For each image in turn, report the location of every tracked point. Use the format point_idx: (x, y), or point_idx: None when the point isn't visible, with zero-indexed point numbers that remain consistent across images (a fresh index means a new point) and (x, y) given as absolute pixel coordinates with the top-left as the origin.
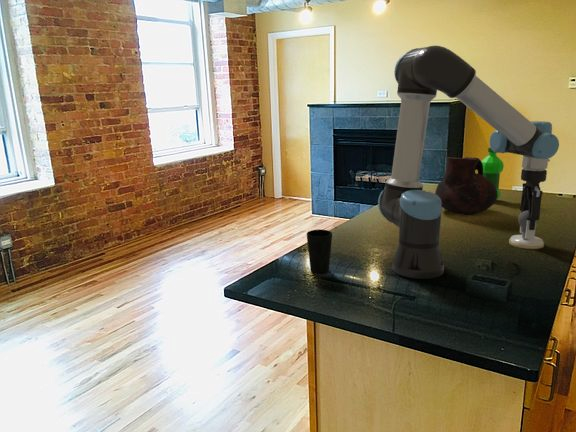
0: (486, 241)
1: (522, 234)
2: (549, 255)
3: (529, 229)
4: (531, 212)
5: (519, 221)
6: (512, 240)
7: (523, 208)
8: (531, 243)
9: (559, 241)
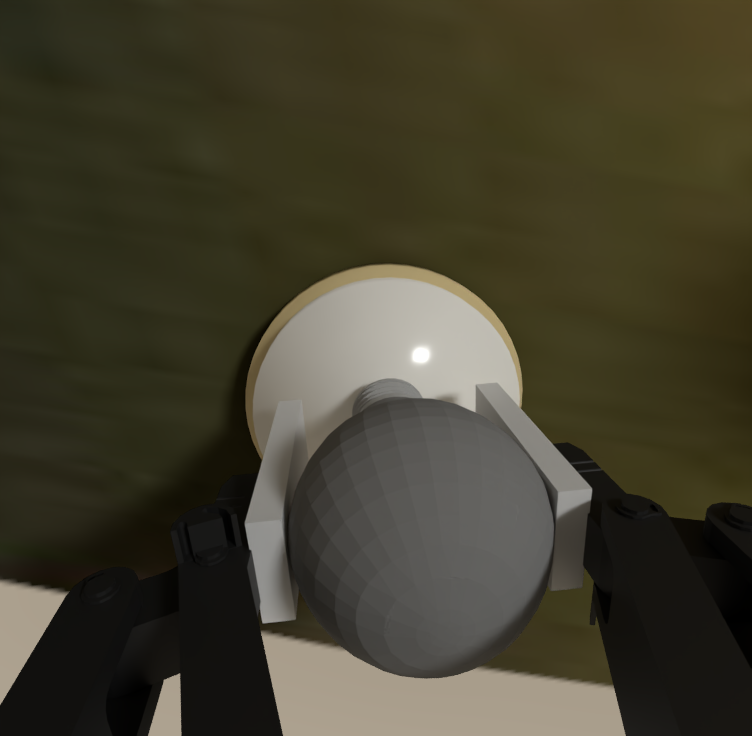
0: (410, 35)
1: (380, 392)
2: (131, 507)
3: (246, 475)
4: (39, 692)
5: (372, 409)
6: (347, 287)
7: (626, 576)
8: (259, 431)
9: None
